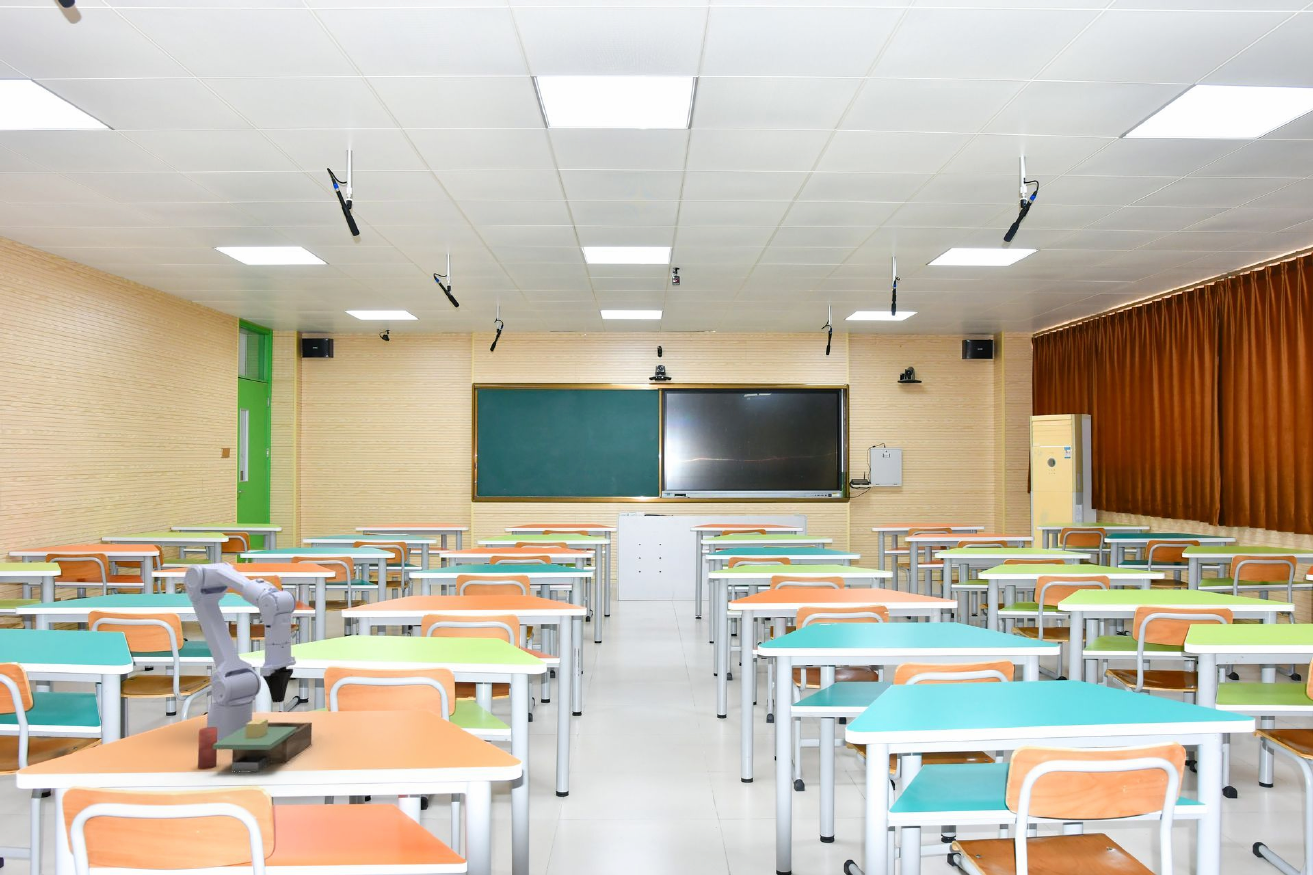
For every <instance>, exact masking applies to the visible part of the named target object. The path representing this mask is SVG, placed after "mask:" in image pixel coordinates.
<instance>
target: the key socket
mask: <svg viewBox="0 0 1313 875" xmlns="http://www.w3.org/2000/svg"><path fill="white" fill-rule="evenodd" d="M270 764H271V762H270V755H243V756H242V757H240V758H238V759H237V760H235V761H234V762H232V761H231V772H232V771H233V772H232V773H242V772H241V771H250V772H249V773H259V772H260V771H262V770H264V768H266V767H267V766H269V765H270ZM234 771H235V772H234ZM239 771H240V772H239Z"/></svg>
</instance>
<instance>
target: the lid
mask: <svg viewBox="0 0 1313 875" xmlns="http://www.w3.org/2000/svg"><path fill="white" fill-rule="evenodd" d="M268 722H269V719H268V718H254V719H252V721H250V722H249V723H247V724H246V727H243V728H241V729H239V730H238V731H236V732H234V733H233V734H231V735H229V736H227V737H226V738H224V739H222V740H220V741H219V742H217V743H215V744H213V749H217V750H232V751H233V750H270V749H271V748H273V747H274V746H276V745H277V744H279V743H280V742H282V741H283V740H285V739H286V738H288V737H289V736H291V735H292V734H294V733H295V732H297V727H268Z"/></svg>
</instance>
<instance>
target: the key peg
mask: <svg viewBox="0 0 1313 875" xmlns="http://www.w3.org/2000/svg"><path fill="white" fill-rule="evenodd" d="M217 731H218V728H217V727H207V726H206V727H202V728H199V729H198V749H197V751H198V755H197V756H198V757H197V769H199V770H208V769H209V770H210V769H214V768H215V767H217V758H218V757H217V756H218V754H217V753H218V749H213V744H215V743H217Z"/></svg>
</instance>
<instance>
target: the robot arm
mask: <svg viewBox="0 0 1313 875" xmlns="http://www.w3.org/2000/svg"><path fill="white" fill-rule="evenodd" d="M235 568H236V567H235V565H233V564H230V563H229V562H227V561H223V562H219V563H204V564H192V565H190V566H188V568H187V569H186V571H185V573H184V574H185V575H184V579H183V585H184V587H185V590H186V593H187V595H188V598H189V600H190V602H191V603H192V608H193V611H194V614H195V616H196V618H197V621H198V624H199V625H200V629H201V631H202V633H203V637H204V639H205V641H206V644H207V647H208V649H209V652H210V654H211V658H212V659H213V662H214V664H215V670H214V672H213V673H212V674H211V675H210V678H209V682H210V685H211V686H210V687H211V696H212V698H213V701H215V702H213V703H212V704H211V705H210V706H209V708H208V711H207V715H206V727H217V728H218V731H217V742H219V741H220V740H222V739H224V738H226V737H227V736H229V735H231V734H233V733H234V732H236V731H238V730H239V729H241V728H243V727H246V724H247V723H249V722H250V721H252V720H253V702H254V701H255V700H256V696H258V694H259V693H260V691H261V687H262V681H261V677H262V678H263V679H264V681H265V683H266V684H267V688H268V690H269V694H270V697H271V701H272V703H283V702H284V700H285V698H286V692H287V688H288V686H289V682H290V679H291V677H292V675H293V674H294V668H289V666H294V665H296V664H297V660H296V657H295V656H292V614H293V613H294V612H295V610H296V607H297V598H296V595H295V593H293V592H292V591H291V590H290V589H284V590H279V589H278V588H277V587H276V586H272V585H270V584H268V583H266V582H265V579H263V578H253V579H249V578H248V577H247V576H245V575H243V574H242V573H240V572H239V571H237V570H236V569H235ZM229 588H230V589H232V590H234V591H237V592H239V593H240V594H241V597H242V599H243V601H245V602H247V603H249V605H250V604H251V605H252V606H254V607H256V608H258V611H259V613H260V615H261V620H262V621H261V622H262V625H264V663H263V664H262V666H261V667H259V674H258V673H257V672H256V671H255V669H254V667H253V666H252V664H251V663H249V662H248V661H245V660H242V658H240V655H239V653H238V651H237V648H236V645H235V643H234V640H233V638H232V635H231V634H230V631H229V627H228V625H227V622H226V621H225V617H224V616H223V613H222V611H221V608H220V604H219V602H220V601H221V600H222V599H224V597H225V595H226V594H227V592H228V591H229ZM287 667H288V668H287Z"/></svg>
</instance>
